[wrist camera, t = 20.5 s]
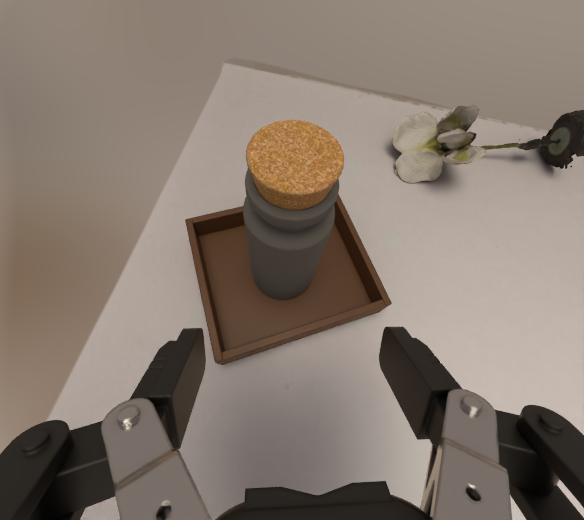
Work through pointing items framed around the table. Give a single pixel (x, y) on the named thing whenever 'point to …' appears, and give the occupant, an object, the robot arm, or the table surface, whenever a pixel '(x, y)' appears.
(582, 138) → the artificial flower
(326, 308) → the tray
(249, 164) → the bottle
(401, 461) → the table surface
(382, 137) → the table surface
